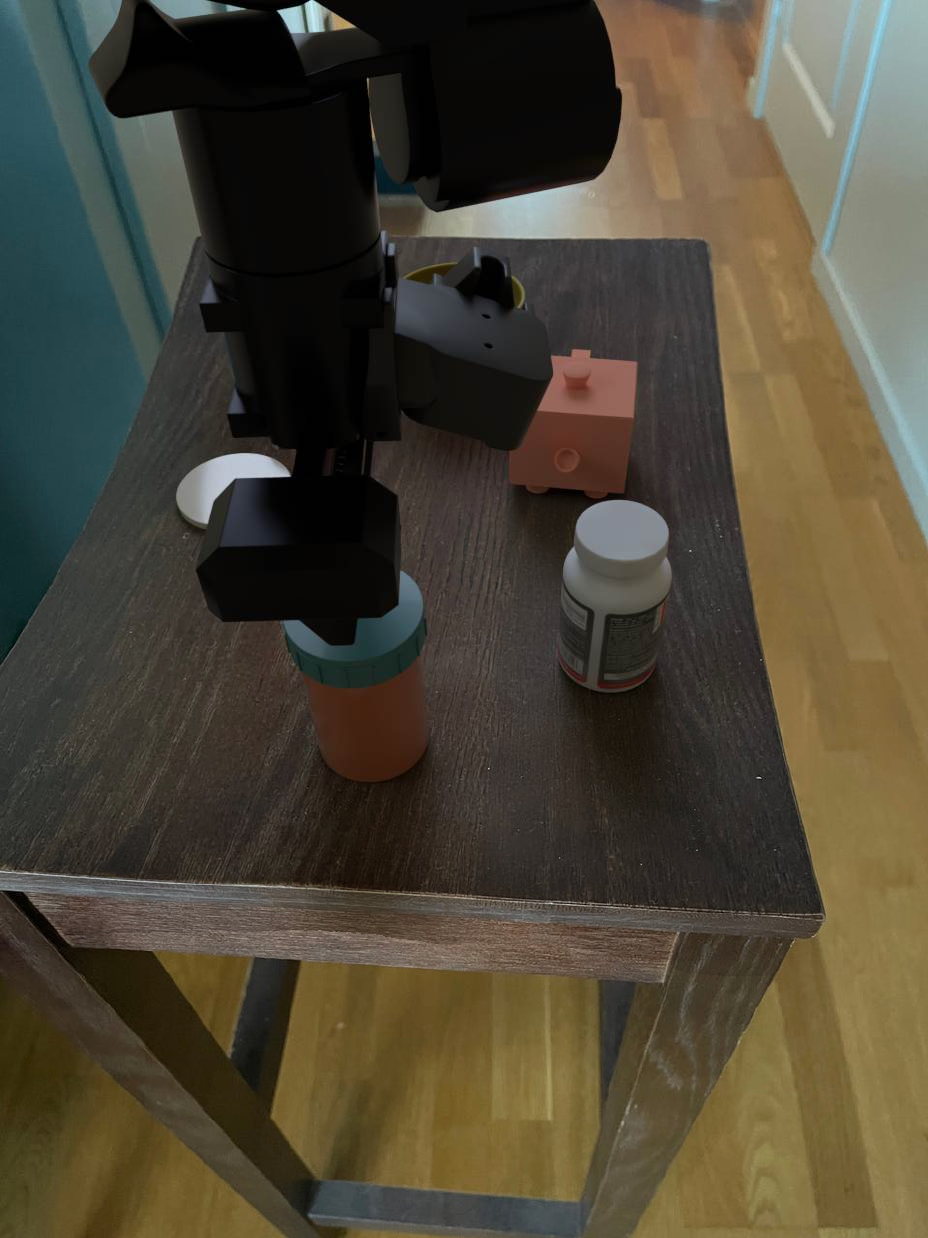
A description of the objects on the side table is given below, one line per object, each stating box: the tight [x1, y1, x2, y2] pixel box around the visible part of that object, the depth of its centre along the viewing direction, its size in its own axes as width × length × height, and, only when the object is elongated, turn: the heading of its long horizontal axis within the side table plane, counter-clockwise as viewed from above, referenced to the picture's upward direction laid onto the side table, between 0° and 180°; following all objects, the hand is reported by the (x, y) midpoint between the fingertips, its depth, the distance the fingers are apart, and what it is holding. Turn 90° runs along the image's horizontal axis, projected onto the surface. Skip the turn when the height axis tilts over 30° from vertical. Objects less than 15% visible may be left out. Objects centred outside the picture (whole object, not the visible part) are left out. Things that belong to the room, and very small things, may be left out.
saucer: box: [175, 452, 292, 531], centre depth 64 cm, size 8×8×1 cm
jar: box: [300, 649, 430, 783], centre depth 46 cm, size 6×6×10 cm
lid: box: [282, 569, 428, 689], centre depth 43 cm, size 7×7×2 cm
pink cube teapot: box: [508, 348, 639, 499], centre depth 62 cm, size 8×12×8 cm, turn 171°
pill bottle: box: [557, 499, 673, 693], centre depth 49 cm, size 6×6×10 cm
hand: (348, 579), depth 41 cm, fingers open, 7 cm apart
